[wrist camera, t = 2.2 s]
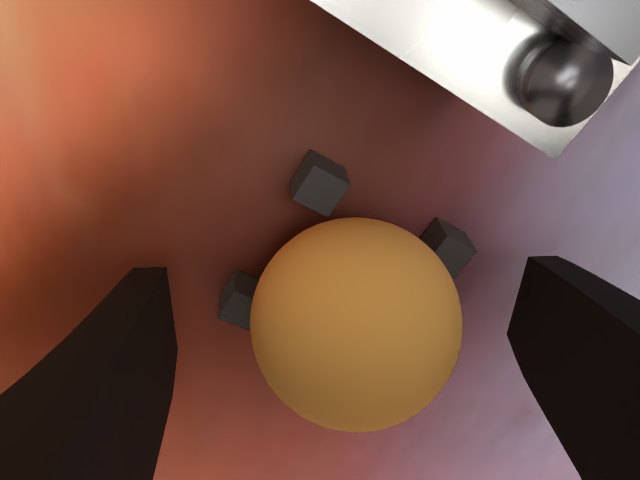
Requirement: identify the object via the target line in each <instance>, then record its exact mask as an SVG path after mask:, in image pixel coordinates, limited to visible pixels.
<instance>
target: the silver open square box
mask: <svg viewBox="0 0 640 480" xmlns="http://www.w3.org/2000/svg"><path fill="white" fill-rule="evenodd" d="M310 1H312V2H314V3H315V4H317V5H318V6H320V7H321V8H323V9H324V10H326V11H327V12H329V13H330V14H332V15H334V16H335V17H337V18H338V19H340V20H341V21H343V22H344V23H346V24H347V25H349V26H350V27H352V28H353V29H355V30H357V31H358V32H360V33H361V34H363V35H364V36H366V37H367V38H369V39H370V40H372V41H373V42H375V43H377V44H378V45H380V46H381V47H383V48H384V49H386V50H387V51H389V52H390V53H392V54H393V55H395V56H396V57H398V58H400V59H401V60H403V61H404V62H406V63H407V64H409V65H410V66H412V67H413V68H415V69H416V70H418V71H420V72H421V73H423V74H424V75H426V76H427V77H429V78H430V79H432V80H433V81H435V82H436V83H438V84H439V85H441V86H443V87H444V88H446V89H447V90H449V91H450V92H452V93H453V94H455V95H456V96H458V97H459V98H461V99H463V100H464V101H466V102H467V103H469V104H470V105H472V106H473V107H475V108H476V109H478V110H479V111H481V112H482V113H484V114H486V115H487V116H489V117H490V118H492V119H493V120H495V121H496V122H498V123H499V124H501V125H502V126H504V127H506V128H507V129H509V130H510V131H512V132H513V133H515V134H516V135H518V136H519V137H521V138H522V139H524V140H525V141H527V142H529V143H530V144H532V145H533V146H535V147H536V148H538V149H539V150H541V151H542V152H544V153H545V154H547V155H549V156H550V157H552V158H553V159H555V160H556V159H557V157H558V156H559V155H560V154H561V153H562V152H563V150H564V149H565V148H566V147H567V146H568V144H569V143H570V142H571V141H572V140H573V139H574V137H575V136H576V135H577V134H578V133H579V131H580V130H581V129H582V128H583V127H584V126H585V124H586V123H587V122H588V121H589V120H590V118H591V117H592V116H593V115H594V114H595V113H596V111H597V110H598V109H599V108H600V107H601V106H602V104H603V103H604V102H605V101H606V100H607V98H608V97H609V96H610V95H611V94H612V93H613V91H614V90H615V89H616V88H617V87H618V85H619V84H620V83H621V82H622V81H623V80H624V78H625V77H626V76H627V75H628V74H629V72H630V71H631V70H632V69H633V68H634V67H635V65H636V64H637V63H638V62H639V61H640V0H310Z"/></svg>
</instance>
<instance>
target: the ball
mask: <svg viewBox="0 0 640 480" xmlns="http://www.w3.org/2000/svg"><path fill="white" fill-rule="evenodd" d="M250 333H251V341H252V347H253V351H254V354H255V357H256V360H257V363H258V366H259V368H260V370H261V372H262V374H263V376H264V378H265V379H266V381H267V383H268V384H269V386H270V387H271V388H272V390H273V391H274V392H275V394H276V395H277V396H278V397H279V398H280V399H281V400H282V401H283V402H284V403H285V404H286V405H287V406H288V407H289V408H291V409H292V410H293V411H295V412H296V413H297V414H299V415H300V416H302V417H304V418H305V419H307V420H309V421H311V422H313V423H316V424H318V425H320V426H323V427H326V428H330V429H333V430H339V431H346V432H370V431H377V430H382V429H386V428H389V427H392V426H395V425H397V424H400V423H402V422H404V421H406V420H408V419H409V418H411V417H413V416H414V415H416V414H417V413H419V412H420V411H421V410H423V409H424V408H425V407H427V406H428V405H429V404H430V403H431V402H432V401H433V400H434V399H435V397H436V396H437V395H438V394H439V393H440V391H441V390H442V389H443V388H444V386H445V384H446V383H447V381H448V380H449V378H450V376H451V374H452V371H453V369H454V367H455V365H456V363H457V359H458V356H459V353H460V348H461V343H462V335H463V319H462V310H461V305H460V300H459V295H458V292H457V290H456V287H455V285H454V282H453V280H452V278H451V275H450V274H449V272H448V270H447V269H446V267H445V266H444V264H443V263H442V261H441V260H440V258H439V257H438V256H437V255H436V254H435V253H434V252H433V250H432V249H431V248H429V247H428V246H427V245H426V244H425V243H424V242H423V241H421V240H420V239H419V238H418V237H416V236H415V235H413V234H411V233H410V232H408V231H406V230H404V229H403V228H401V227H398V226H396V225H394V224H391V223H388V222H384V221H381V220H376V219H369V218H360V217H349V218H339V219H334V220H329V221H326V222H323V223H320V224H317V225H315V226H312V227H310V228H308V229H306V230H304V231H303V232H301V233H300V234H298V235H296V236H295V237H294V238H292V239H291V240H290V241H289V242H287V243H286V244H285V245H284V246H283V247H282V248H281V249H280V250H279V251H278V252H277V253H276V254H275V255H274V257H273V258H272V259H271V261H270V262H269V263H268V265H267V266H266V268H265V270H264V272H263V273H262V275H261V277H260V279H259V282H258V285H257V287H256V290H255V293H254V296H253V301H252V306H251V314H250Z"/></svg>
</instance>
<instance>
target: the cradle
mask: <svg viewBox="0 0 640 480" xmlns="http://www.w3.org/2000/svg"><path fill="white" fill-rule="evenodd" d="M290 186H291V194H292V200H294V201H296V202H298V203H300V204H302V205H304V206H306V207H308V208H310V209H312V210H314V211H316V212H318V213H320V214H322V215H324V216H326V217H329V215H330V214H331V212H332V211H333V209H334V208H335V206H336V205H337V203H338V202H339V200H340V199H341V197H342V196H343V194H344V193H345V191H346V190H347V189H348V187H349V186H350V182H349V180H348V177H347V174H346V171H345V168H344V167H342V166H340V165H338V164H337V163H335V162H333V161H331V160H329V159H327V158H325V157H324V156H322V155H320V154H318V153H316V152H314V151H312V150H311V149H310V150H309V152H308V154H307V155H306V157H305V159H304V160H303V162H302V163H301V165H300V167H299V168H298V170H297V171H296V173H295V175H294V176H293V178H292V180H291V181H290ZM420 240H421V241H423V242H424V243H425V244H426V245H427V246H428V247H429V248H431V249H432V250H433V252H434V253H435V254H436V255H437V256H438V257H439V258H440V260H441V261H442V263H443V264H444V266H445V267H446V269H447V270H448V272H449V274H450V275H451V278H452V279H454V278H455V277H456V276H457V275H458V274H459V272H460V271H461V270H462V269H463V268H464V267H465V265H466V264H467V263H468V262H469V261H470V259H471V258H472V257H473V256H474V255H475V254H476V252H477V250H476V249H475V247H474V246H473V244H472V243H471V241H470V240H469V238H468V237H467V235H466V234H465V232H463V231H461V230H459V229H457V228H455V227H454V226H452V225H450V224H448V223H446V222H444V221H442V220H441V219H439V218H437V217H436V219H435V220H434V221H433V223H432V224H431V225H430V226H429V228H428V229H427V230H426V231H425V233H424V234H423V235H422V237H421V238H420ZM258 282H259V279H257V278H254V277H252V276H250V275H247V274H245V273H243V272H240V271H238V270H235V272H234V273H233V275H232V276H231V278H230V280H229V281H228V283H227V284H226V286H225V288H224V289H223V291H222V293H221V294H220V296H219V306H218V316H217V318H218V319H220V320H223V321H225V322H228V323H231V324H233V325H236V326H238V327H241V328H244V329H246V330H249V331H250V314H251V306H252V301H253V296H254V293H255V290H256V287H257V285H258Z"/></svg>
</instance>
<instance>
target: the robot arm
mask: <svg viewBox="0 0 640 480" xmlns="http://www.w3.org/2000/svg"><path fill="white" fill-rule="evenodd" d="M507 336H508V339H509V342H510V344H511V347H512V350H513V352H514V355H515V358H516V360H517V362H518V365H519V367H520V369H521V372H522V374H523V377H524V379H525V380H526V382H527V384H528V386H529V388H530V390H531V391H532V393H533V395H534V397H535V398H536V400H537V402H538V404H539V406H540V407H541V409H542V411H543V413H544V414H545V416H546V418H547V420H548V421H549V423H550V425H551V426H552V428H553V430H554V432H555V433H556V435H557V437H558V439H559V440H560V442H561V444H562V445H563V447H564V449H565V451H566V452H567V454H568V456H569V458H570V459H571V461H572V463H573V465H574V466H575V468H576V470H577V471H578V473H579V475H580V477H581V479H582V480H640V300H639V299H637V298H635V297H633V296H632V295H630V294H628V293H626V292H624V291H623V290H621V289H619V288H617V287H616V286H614V285H612V284H610V283H608V282H607V281H605V280H603V279H601V278H600V277H598V276H596V275H594V274H592V273H590V272H589V271H587V270H585V269H583V268H581V267H579V266H577V265H575V264H573V263H571V262H569V261H567V260H565V259H563V258H561V257H558V256H534V257H528V259H527V263H526V266H525V270H524V274H523V277H522V281H521V285H520V288H519V292H518V295H517V299H516V303H515V306H514V310H513V313H512V317H511V321H510V324H509V328H508V331H507ZM177 350H178V348H177V341H176V333H175V326H174V319H173V312H172V304H171V297H170V290H169V283H168V275H167V268H166V267H152V268H133V269H132V270H131V271H130V272H129V273H128V274H127V275H126V276H125V277H124V278H123V279H122V280H121V281H120V282H119V283H118V284H117V285H116V286H115V287H114V289H113V290H112V291H111V292H110V293H109V294H108V295H107V296H106V297H105V298H104V299H103V300H102V301H101V302H100V303H99V304H98V305H97V307H96V308H95V309H94V310H93V311H92V312H91V313H90V314H89V315H88V316H87V317H86V318H85V319H84V320H83V321H82V322H81V323H80V324H79V325H78V326H77V327H76V328H75V329H74V330H73V331H72V332H71V333H70V334H69V335H68V336H67V337H66V338H65V339H64V340H63V341H62V342H61V343H60V344H58V345H57V346H56V347H55V348H54V349H53V350H52V351H51V352H50V353H49V354H47V355H46V356H45V357H44V358H43V359H42V360H41V361H40V362H39V363H38V364H36V365H35V366H34V367H33V368H32V369H31V370H30V371H29V372H28V373H26V374H25V375H24V376H23V377H22V378H21V379H19V380H18V381H17V382H16V383H14V384H13V385H12V386H11V387H10V388H8V389H7V390H6V391H5V392H3V393H2V394H1V395H0V480H153V476H154V472H155V468H156V464H157V459H158V455H159V451H160V447H161V443H162V439H163V435H164V430H165V426H166V422H167V417H168V413H169V409H170V405H171V400H172V396H173V387H174V379H175V370H176V360H177Z"/></svg>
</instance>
